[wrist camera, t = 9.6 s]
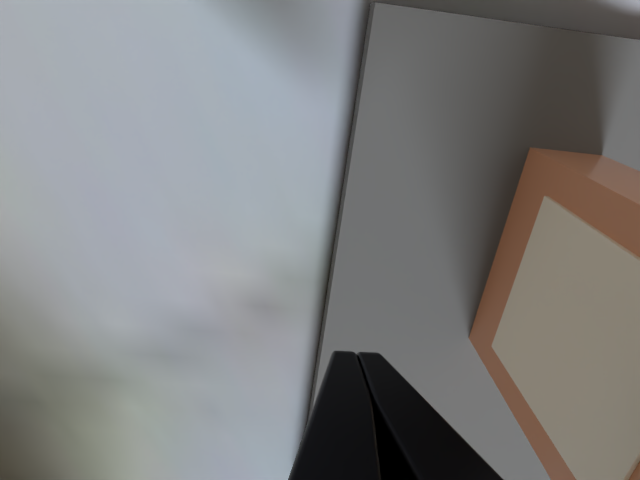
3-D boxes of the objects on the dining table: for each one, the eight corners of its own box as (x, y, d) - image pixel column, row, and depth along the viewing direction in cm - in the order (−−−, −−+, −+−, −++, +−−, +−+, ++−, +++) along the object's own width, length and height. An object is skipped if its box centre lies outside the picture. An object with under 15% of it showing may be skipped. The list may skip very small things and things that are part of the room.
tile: (465, 338, 14) (611, 592, 8) (526, 146, 12) (812, 299, 5) (529, 341, 14) (719, 591, 8) (602, 155, 12) (962, 309, 6)
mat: (299, 477, 17) (299, 491, 17) (370, 3, 10) (374, 2, 10) (658, 482, 19) (669, 496, 19) (918, 80, 12) (948, 83, 12)
